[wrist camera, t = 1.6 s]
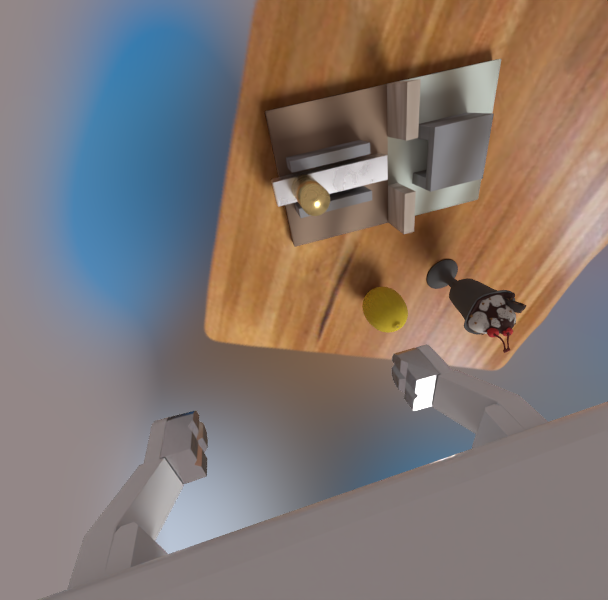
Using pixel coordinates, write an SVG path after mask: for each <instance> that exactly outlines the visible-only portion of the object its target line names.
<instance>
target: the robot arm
mask: <svg viewBox="0 0 608 600" xmlns="http://www.w3.org/2000/svg"><path fill="white" fill-rule="evenodd" d="M392 361H393V363H394V366H393V367H392V377H393V381H394V383H395V385H396V387H397V388H398V390H400V391H402V392H404V393H405V395H404V399H405V400H406V402H407V403H408V404H409V406H410V407H411V409H412V410H413V411H415V410H418V409H422V408H426V407H429V406H432V407H433V408H435V409H437V410H438V411H440V412H441V413H443V414H445V415H446V416H448V417H450V418H451V419H453V420H454V421H456V422H458V423H459V424H461V425H462V426H464V427H465V428H467V429H469V430H470V431H472V432H473V433H475V434H476V436H475V439H474V442H473V446H472V449H470V450H467V451H464V452H462V453H459V454H456V455H453V456H450V457H447V458H444V459H441V460H438V461H436V462H433V463H430V464H427V465H424V466H421V467H418V468H415V469H413V470H410V471H407V472H404V473H401V474H398V475H395V476H392V477H389V478H386V479H383V480H381V481H378V482H375V483H372V484H369V485H366V486H363V487H360V488H357V489H355V490H352V491H349V492H346V493H343V494H340V495H337V496H334V497H332V498H329V499H326V500H323V501H320V502H317V503H315V504H311V505H309V506H306V507H303V508H300V509H297V510H294V511H291V512H289V513H286V514H283V515H280V516H277V517H274V518H271V519H268V520H265V521H263V522H260V523H257V524H254V525H251V526H248V527H245V528H242V529H240V530H237V531H234V532H231V533H229V534H225V535H222V536H219V537H217V538H214V539H211V540H208V541H205V542H202V543H200V544H197V545H194V546H191V547H188V548H185V549H182V550H180V551H176V552H173V553H171V554H167V553H166V551H165V550H164V549H163V548H162V547H161V546H159V545H158V544H157V543H156V542H155V540H156V538H157V536H158V534H159V533H160V531H161V529H162V527H163V525H164V523H165V521H166V519H167V517H168V515H169V513H170V511H171V509H172V507H173V505H174V503H175V502H176V500H177V498H178V496H179V494H180V492H181V490H182V488H183V486H184V485H183V484H186V483H189V482H192V481H195V480H197V479H200V478H203V477H206V476H207V457H206V455H205V454H204V452H205V451H206V449H207V448H208V439H207V432H206V428H205V426H204V424H203V423H202V422H200V421H199V414H198V412H197V411H191V412H187V413H183V414H179V415H175V416H172V417H168V418H164V419H161V420H157V421H154V423H153V424H152V427H151V432H150V436H149V440H148V445H147V450H146V455H145V459H144V464H141V465H139V466H138V467H137V469H136V470H135V471H134V473H133V474H132V475H131V477H130V478H129V479H128V480H127V482H126V483H125V484H124V486H123V487H122V488H121V490H120V491H119V492H118V493H117V495H116V496H115V497H114V499H113V500H112V501H111V502H110V504H109V505H108V506H107V508H106V509H105V510H104V512H103V513H102V514H101V515H100V517H99V518H98V519H97V521H96V522H95V523H94V525H93V526H92V527H91V529H90V530H89V531H88V532H87V534H86V535H85V536H84V538H83V541H82V545H81V548H80V551H79V554H78V557H77V560H76V563H75V567H74V570H73V573H72V576H71V579H70V582H69V586H68V589H67V590H64V591H62V592H59V593H56V594H53V595H50V596H47V597H44V598H41V599H38V600H608V402H605V403H602V404H599V405H597V406H593V407H591V408H588V409H585V410H582V411H579V412H576V413H574V414H570V415H568V416H565V417H562V418H559V419H556V420H553V421H550V422H548V421H547V420H546V419H544V418H543V417H542V416H541V415H540V414H539V413H538V412H537V411H536V410H535V409H534V408H532V407H531V406H530V405H529V404H528V403H527V402H526V401H524V399H523V398H521V397H520V396H519V395H517V394H514V393H512V392H510V391H507V390H505V389H502V388H500V387H497V386H495V385H493V384H490V383H488V382H485V381H483V380H480V379H478V378H475V377H473V376H470V375H468V374H465V373H463V372H461V371H458V370H454V371H453V370H452V369H451V368H450V367H449V366H448V365H447V364H446V363H445V362H444V360H443V359H442V358H441V357H440V356H439V355H438V354H437V353H436V352H435V351H434V350H433V349H432V348H431V347H430V346H429V345H423V346H420V347H416V348H412V349H409V350H405V351H402V352H399V353H395V354H394V355H393V356H392Z"/></svg>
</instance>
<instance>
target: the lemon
mask: <svg viewBox="0 0 608 600" xmlns="http://www.w3.org/2000/svg"><path fill="white" fill-rule="evenodd" d="M363 312H364V315H365V317H366V319H367V320H368V322H369V323H370V324H371V325H372V326H373V327H375V328H376V329H377V330H380V331H382V332H394V331H397V330H399V329H400V328H401V327H402V326H403V325H404V324H405V322H406V320H407V316H408V310H407V307H406V304H405V302H404V300H403V299H402V297H401V296H400V295H399V294H398V293H397V292H396V291H394V290H393V289H391V288H388V287H377V288H374V289H372V290H370V291H369V292H368V293H367V294H366V296H365V297H364V300H363Z"/></svg>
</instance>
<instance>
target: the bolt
mask: <svg viewBox="0 0 608 600" xmlns="http://www.w3.org/2000/svg"><path fill="white" fill-rule="evenodd" d="M384 180H388V161H387V155H386V154H383V153H377V154H372V155H368V156H364V157H360V158H356V159H352V160H347V161H343V162H339V163H335V164H331V165H327V166H323V167H318V168H314V169H310V170H306V171H302V172H298V173H293V174H289V175H285V176H281V177H277V178H273V179H271V182H272V187H273V191H274V195H275V200H276V203H277V205H278V207H279V206H283V205H287V204H291V203H295V202H298V203H299V204H300V205H301V207H302V208H303V210H304V211H305V212H306V213H307V214H308V215H311V216H319V215H321V214H323V213H324V212H325V211H326V210H327V209H328V207H329V204H330V195H329V194H331V193H335V192H339V191H343V190H348V189H352V188H356V187H360V186H364V185H368V184H372V183H376V182H380V181H384Z"/></svg>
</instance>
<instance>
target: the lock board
mask: <svg viewBox="0 0 608 600" xmlns="http://www.w3.org/2000/svg"><path fill="white" fill-rule="evenodd" d="M500 64H501V59H497V60H491V61H487V62H482V63H478V64H473V65H469V66H464V67H460V68H455V69H451V70H447V71H442V72H438V73H433V74H429V75H424V76H420V77H415V78H411V79H406V80H402V81H397V82H393V83H388V84H384V85H379V86H375V87H371V88H366V89H362V90H357V91H353V92H348V93H344V94H339V95H335V96H330V97H326V98H321V99H317V100H312V101H308V102H303V103H299V104H294V105H290V106H286V107H281V108H277V109H272V110H268V111H265V116H266V120H267V125H268V130H269V134H270V139H271V143H272V148H273V153H274V157H275V162H276V167H277V171H278V176H279V177H281V176H285V175H289V174H293V173H298V172H302V171H306V170H310V169H314V168H318V167H323V166H327V165H331V164H335V163H339V162H343V161H347V160H352V159H356V158H360V157H364V156H368V155H372V154H377V153H383V154H386V155H387V161H388V180H384V181H380V182H376V183H372V184H368V185H364V186H360V187H356V188H352V189H348V190H343V191H339V192H335V193H331V194H329V195H330V204H329V207H328V209H327V210H326V211H325V212H324V213H323V214H321V215H319V216H311V215H308V214H307V213H306V212H305V211H304V210H303V208H302V207H301V205H300V204H299V203H298V202H295V203H291V204H287V205H285V208H286V213H287V217H288V222H289V227H290V231H291V236H292V241H293V244H294V246H299V245H303V244H307V243H311V242H315V241H319V240H323V239H326V238H330V237H334V236H338V235H342V234H346V233H350V232H354V231H357V230H361V229H365V228H369V227H373V226H377V225H381V224H384V223H390V224H391V225H392V226H394V227H395V228H396V229H398V230H399V231H400V232H402V233H403V234H407V233H411V232H414V219H415V215H419V214H423V213H427V212H431V211H435V210H439V209H443V208H446V207H450V206H454V205H458V204H462V203H466V202H470V201H474V200H477V199H478V195H479V189H480V183H481V179H483V173H484V167H485V161H486V155H487V149H488V143H489V138H490V132H491V126H492V120H493V114H492V112H493V106H494V100H495V94H496V88H497V82H498V76H499V70H500Z"/></svg>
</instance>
